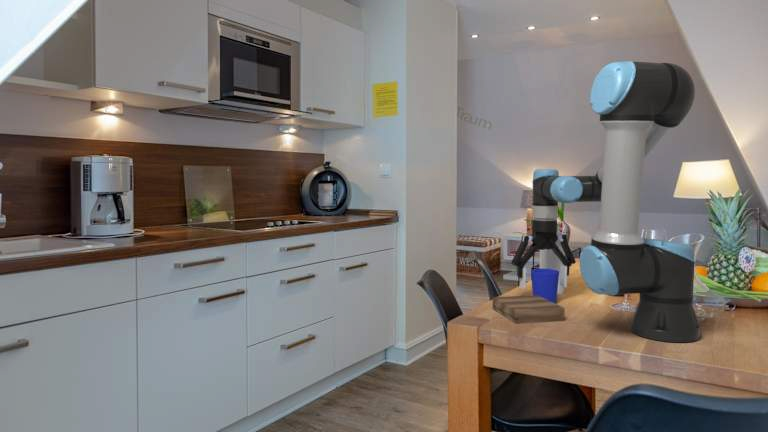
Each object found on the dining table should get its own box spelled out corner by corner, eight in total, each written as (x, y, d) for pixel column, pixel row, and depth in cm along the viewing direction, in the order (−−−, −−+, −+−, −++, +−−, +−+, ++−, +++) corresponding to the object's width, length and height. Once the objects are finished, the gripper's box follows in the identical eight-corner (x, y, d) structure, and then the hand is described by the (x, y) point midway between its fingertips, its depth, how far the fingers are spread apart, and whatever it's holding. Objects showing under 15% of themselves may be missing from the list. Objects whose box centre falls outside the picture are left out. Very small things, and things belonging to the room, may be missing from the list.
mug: (552, 297, 174) (553, 266, 174) (561, 306, 162) (561, 273, 162) (526, 296, 175) (527, 266, 174) (533, 305, 163) (533, 272, 162)
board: (564, 320, 146) (564, 307, 146) (515, 323, 144) (515, 310, 143) (537, 306, 162) (537, 295, 162) (492, 309, 159) (492, 297, 159)
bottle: (535, 289, 186) (536, 202, 183) (558, 289, 186) (559, 202, 184) (544, 295, 178) (546, 203, 175) (568, 294, 178) (570, 203, 176)
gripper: (575, 217, 173) (573, 283, 175) (501, 218, 168) (500, 286, 170) (588, 219, 165) (586, 288, 167) (511, 221, 161) (510, 291, 163)
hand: (543, 287), depth 169 cm, fingers open, 13 cm apart
